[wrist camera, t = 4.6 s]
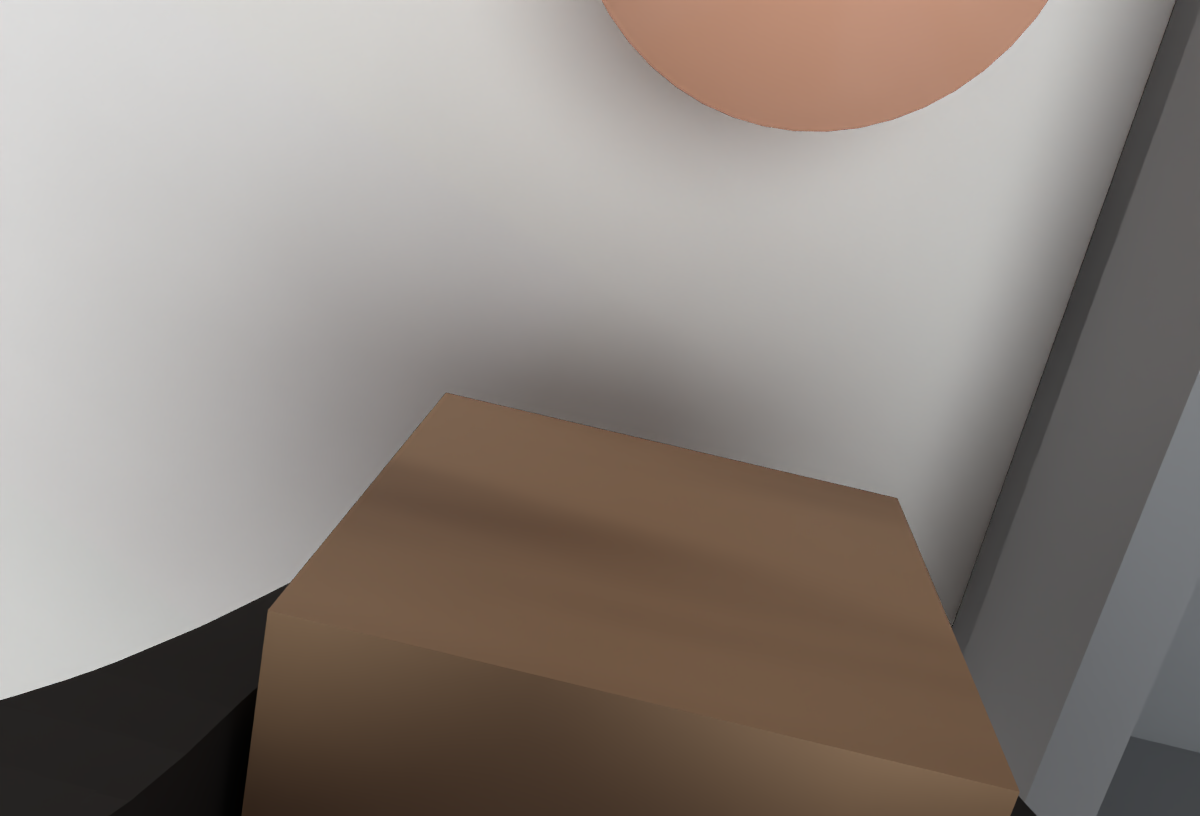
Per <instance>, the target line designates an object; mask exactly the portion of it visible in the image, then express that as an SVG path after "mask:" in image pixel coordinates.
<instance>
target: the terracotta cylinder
mask: <svg viewBox="0 0 1200 816" xmlns="http://www.w3.org/2000/svg"><path fill="white" fill-rule="evenodd" d="M1047 1H1048V0H602V2H603V4H604V5H605V7H606V9H607V11H608V13H609V15H610V16H611V18H612V19H613V20H614V22H615V23H616V25H617V26H618V28H619V29H620V30H621V32H622V33H623V35H624V36H625V38H626V39H627V40H628V42H629V43H630V44H631V45H632V46H633V47H634V48H635V49H636V50H637V52H638V53H639V54H640V55H641V56H642V57H643V58H644V59H645V60H646V61H647V62H648V64H649V65H650V66H652V67H653V68H654V69H655V70H656V71H657V72H659V73H660V74H661V75H662V76H663V77H665V78H666V79H667V80H668V81H669V82H671V83H672V84H673V85H674V86H675V87H677V88H679V89H680V90H682V91H683V92H685V93H687V94H688V95H690V96H691V97H693V98H695V99H696V100H698V101H699V102H701V103H702V104H705V105H707V106H709V107H711V108H713V109H716V110H718V111H720V112H722V113H725V114H727V115H729V116H731V117H734V118H738V119H741V120H744V121H748V122H751V123H754V124H758V125H761V126H766V127H773V128H779V129H785V130H792V131H825V132H827V131H836V130H845V129H854V128H861V127H865V126H869V125H873V124H877V123H881V122H885V121H889V120H893V119H896V118H898V117H901V116H903V115H906V114H909V113H911V112H914V111H916V110H919V109H922V108H924V107H926V106H928V105H930V104H932V103H934V102H935V101H937V100H939V99H941V98H943V97H945V96H947V95H948V94H950V93H952V92H954V91H956V90H957V89H959V88H960V87H961V86H963V85H964V84H966V83H967V82H969V81H970V80H971V79H973V78H974V77H976V76H977V75H978V74H980V73H981V72H983V71H984V70H985V69H986V68H988V67H989V66H990V65H991V64H992V63H993V62H994V61H995V60H996V59H998V58H999V57H1000V56H1001V55H1002V54H1003V53H1004V52H1005V51H1006V50H1008V49H1009V48H1010V47H1011V46H1012V45H1013V44H1014V42H1015V41H1016V40H1017V39H1018V38H1019V37H1020V36H1021V35H1022V33H1023V32H1024V31H1025V30H1026V29H1027V28H1028V27H1029V25H1030V24H1031V23H1032V22H1033V21H1034V20H1035V19H1036V17H1037V16H1038V14H1039V13H1040V12H1041V10H1042V9H1043V7H1044V6H1045V4H1046V3H1047Z"/></svg>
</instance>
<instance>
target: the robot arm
mask: <svg viewBox="0 0 1200 816" xmlns="http://www.w3.org/2000/svg"><path fill="white" fill-rule="evenodd" d="M289 584H290V583H289ZM289 584H287V585H285V586H283V587H281V588H279V589H277V590H275V591H273V592H271V593H269V594H267V595H265V596H263V597H261V598H259V599H257V600H255V601H253V602H251V603H249V604H247V605H244V606H242V607H240V608H238V609H236V610H234V611H232V612H230V613H228V614H226V615H224V616H222V617H220V618H218V619H216V620H213V621H211V622H209V623H207V624H205V625H203V626H201V627H199V628H196V629H194V630H191V631H189V632H187V633H184V634H182V635H180V636H177V637H175V638H172V639H170V640H168V641H165V642H163V643H161V644H158V645H156V646H153V647H151V648H149V649H146V650H144V651H142V652H139V653H137V654H134V655H132V656H130V657H127V658H125V659H123V660H120V661H118V662H115V663H112V664H110V665H107V666H104V667H102V668H99V669H96V670H94V671H91V672H88V673H85V674H82V675H79V676H76V677H74V678H71V679H68V680H65V681H62V682H58V683H55V684H52V685H49V686H46V687H42V688H39V689H36V690H33V691H30V692H26V693H23V694H20V695H17V696H14V697H10V698H7V699H3V700H0V816H241V815H242V808H243V800H244V792H245V784H246V776H247V769H248V761H249V753H250V745H251V737H252V730H253V722H254V714H255V706H256V699H257V691H258V683H259V675H260V667H261V660H262V652H263V644H264V636H265V628H266V621H267V613H268V609H269V608H270V607H271V606H272V604H273V603H274V602H275V601H276V600H277V598H278V597H279V596H280V595H281V593H282V592H283V591H284V590H285V589H286V587H287V586H288V585H289ZM1010 816H1037V815H1036V814H1035V813H1034V812H1033V811H1032V810H1031V809H1030V808H1029V807H1028V806H1027V805H1026V803H1025V802H1024V801H1023V800H1022V799H1021V798H1020V797H1019V796H1018V798H1017V800H1016V803H1015V805H1014V808H1013V810H1012V813H1011V815H1010Z"/></svg>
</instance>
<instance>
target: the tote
mask: <svg viewBox="0 0 1200 816" xmlns="http://www.w3.org/2000/svg"><path fill="white" fill-rule="evenodd" d="M952 630H953V633H954V635H955V638H956V640H957V642H958V645H959V647H960V650H961V652H962V654H963V657H964V659H965V662H966V664H967V666H968V669H969V671H970V674H971V676H972V678H973V681H974V683H975V686H976V688H977V690H978V693H979V695H980V698H981V700H982V702H983V705H984V707H985V710H986V712H987V714H988V717H989V719H990V722H991V724H992V726H993V729H994V731H995V734H996V736H997V738H998V741H999V743H1000V746H1001V748H1002V750H1003V753H1004V755H1005V758H1006V760H1007V762H1008V765H1009V767H1010V770H1011V772H1012V774H1013V777H1014V779H1015V782H1016V784H1017V786H1018V789H1019V791H1020V793H1019V795H1018V796H1019V797H1020V798H1021V799H1022V800H1023V801H1024V802H1025V803H1026V805H1027V806H1028V807H1029V808H1030V809H1031V810H1032V811H1033V812H1034V813H1035V814H1036V815H1037V816H1200V0H1177V1H1176V3H1175V6H1174V9H1173V12H1172V15H1171V17H1170V20H1169V23H1168V26H1167V29H1166V31H1165V34H1164V37H1163V40H1162V43H1161V45H1160V48H1159V51H1158V54H1157V57H1156V59H1155V62H1154V65H1153V68H1152V71H1151V73H1150V76H1149V79H1148V82H1147V85H1146V87H1145V90H1144V93H1143V96H1142V98H1141V101H1140V104H1139V107H1138V110H1137V112H1136V115H1135V118H1134V121H1133V124H1132V126H1131V129H1130V132H1129V135H1128V138H1127V140H1126V143H1125V146H1124V149H1123V152H1122V154H1121V157H1120V160H1119V163H1118V166H1117V168H1116V171H1115V174H1114V177H1113V180H1112V182H1111V185H1110V188H1109V191H1108V194H1107V196H1106V199H1105V202H1104V205H1103V208H1102V210H1101V213H1100V216H1099V219H1098V222H1097V224H1096V227H1095V230H1094V233H1093V236H1092V238H1091V241H1090V244H1089V247H1088V250H1087V252H1086V255H1085V258H1084V261H1083V264H1082V266H1081V269H1080V272H1079V275H1078V278H1077V280H1076V283H1075V286H1074V289H1073V292H1072V294H1071V297H1070V300H1069V303H1068V306H1067V308H1066V311H1065V314H1064V317H1063V320H1062V322H1061V325H1060V328H1059V331H1058V334H1057V336H1056V339H1055V342H1054V345H1053V348H1052V350H1051V353H1050V356H1049V359H1048V362H1047V364H1046V367H1045V370H1044V373H1043V376H1042V378H1041V381H1040V384H1039V387H1038V390H1037V392H1036V395H1035V398H1034V401H1033V403H1032V406H1031V409H1030V412H1029V415H1028V417H1027V420H1026V423H1025V426H1024V429H1023V431H1022V434H1021V437H1020V440H1019V443H1018V445H1017V448H1016V451H1015V454H1014V457H1013V459H1012V462H1011V465H1010V468H1009V471H1008V473H1007V476H1006V479H1005V482H1004V485H1003V487H1002V490H1001V493H1000V496H999V499H998V501H997V504H996V507H995V510H994V513H993V515H992V518H991V521H990V524H989V527H988V529H987V532H986V535H985V538H984V541H983V543H982V546H981V549H980V552H979V555H978V557H977V560H976V563H975V566H974V569H973V571H972V574H971V577H970V580H969V583H968V585H967V588H966V591H965V594H964V597H963V599H962V602H961V605H960V608H959V611H958V613H957V616H956V619H955V622H954V625H953V627H952Z"/></svg>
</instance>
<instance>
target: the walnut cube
mask: <svg viewBox="0 0 1200 816" xmlns="http://www.w3.org/2000/svg"><path fill="white" fill-rule="evenodd" d="M1019 793H1020V791H1019V789H1018V786H1017V784H1016V782H1015V779H1014V777H1013V774H1012V772H1011V770H1010V767H1009V765H1008V762H1007V760H1006V758H1005V755H1004V753H1003V750H1002V748H1001V746H1000V743H999V741H998V738H997V736H996V734H995V731H994V729H993V726H992V724H991V722H990V719H989V717H988V714H987V712H986V710H985V707H984V705H983V702H982V700H981V698H980V695H979V693H978V690H977V688H976V686H975V683H974V681H973V678H972V676H971V674H970V671H969V669H968V666H967V664H966V662H965V659H964V657H963V654H962V652H961V650H960V647H959V645H958V642H957V640H956V638H955V635H954V633H953V630H952V628H951V626H950V623H949V621H948V618H947V616H946V614H945V611H944V609H943V606H942V604H941V602H940V599H939V597H938V594H937V592H936V590H935V587H934V585H933V582H932V580H931V578H930V575H929V573H928V570H927V568H926V566H925V563H924V561H923V558H922V556H921V554H920V551H919V549H918V546H917V544H916V542H915V539H914V537H913V534H912V532H911V530H910V527H909V525H908V523H907V520H906V518H905V515H904V513H903V511H902V508H901V506H900V503H899V501H898V499H897V498H894V497H890V496H885V495H881V494H877V493H873V492H868V491H864V490H860V489H856V488H851V487H847V486H843V485H838V484H834V483H830V482H826V481H821V480H817V479H813V478H809V477H804V476H800V475H796V474H791V473H787V472H783V471H779V470H774V469H770V468H766V467H761V466H757V465H753V464H749V463H744V462H740V461H736V460H732V459H727V458H723V457H719V456H714V455H710V454H706V453H702V452H697V451H693V450H689V449H685V448H680V447H676V446H672V445H667V444H663V443H659V442H655V441H650V440H646V439H642V438H638V437H633V436H629V435H625V434H620V433H616V432H612V431H608V430H603V429H599V428H595V427H591V426H586V425H582V424H578V423H573V422H569V421H565V420H561V419H556V418H552V417H548V416H544V415H539V414H535V413H531V412H526V411H522V410H518V409H514V408H509V407H505V406H501V405H497V404H492V403H488V402H484V401H479V400H475V399H471V398H467V397H462V396H458V395H454V394H450V393H445V394H444V396H443V397H442V398H441V399H440V400H439V402H438V403H437V404H436V405H435V407H434V408H433V409H432V410H431V411H430V413H429V414H428V415H427V416H426V418H425V419H424V420H423V421H422V422H421V424H420V425H419V426H418V427H417V429H416V430H415V431H414V432H413V433H412V435H411V436H410V437H409V438H408V440H407V441H406V442H405V443H404V444H403V446H402V447H401V448H400V449H399V451H398V452H397V453H396V454H395V455H394V457H393V458H392V459H391V460H390V462H389V463H388V464H387V465H386V466H385V468H384V469H383V470H382V471H381V473H380V474H379V475H378V476H377V477H376V479H375V480H374V481H373V482H372V484H371V485H370V486H369V487H368V488H367V490H366V491H365V492H364V493H363V495H362V496H361V497H360V498H359V499H358V501H357V502H356V503H355V504H354V506H353V507H352V508H351V509H350V510H349V512H348V513H347V514H346V515H345V517H344V518H343V519H342V520H341V521H340V523H339V524H338V525H337V526H336V528H335V529H334V530H333V531H332V532H331V534H330V535H329V536H328V537H327V539H326V540H325V541H324V542H323V543H322V545H321V546H320V547H319V548H318V550H317V551H316V552H315V553H314V554H313V556H312V557H311V558H310V559H309V560H308V562H307V563H306V564H305V565H304V567H303V568H302V569H301V570H300V571H299V573H298V574H297V575H296V576H295V578H294V579H293V580H292V581H291V582H290V584H289V585H288V586H287V587H286V589H285V590H284V591H283V592H282V593H281V595H280V596H279V597H278V598H277V600H276V601H275V602H274V603H273V604H272V606H271V607H270V608H269V609H268V613H267V621H266V628H265V636H264V644H263V652H262V660H261V667H260V675H259V683H258V691H257V699H256V706H255V714H254V722H253V730H252V737H251V745H250V753H249V761H248V769H247V776H246V784H245V792H244V800H243V808H242V815H241V816H1010V815H1011V813H1012V810H1013V808H1014V805H1015V803H1016V800H1017V798H1018V795H1019Z"/></svg>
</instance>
